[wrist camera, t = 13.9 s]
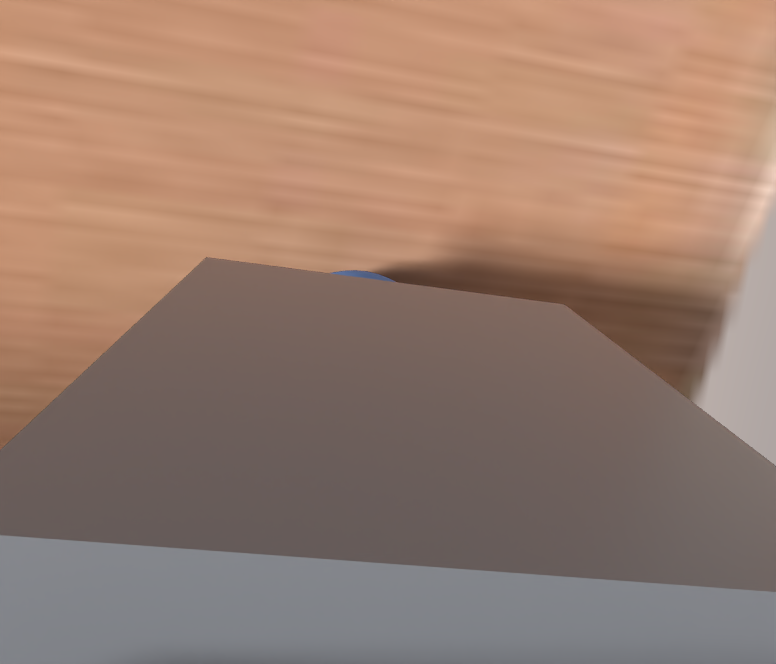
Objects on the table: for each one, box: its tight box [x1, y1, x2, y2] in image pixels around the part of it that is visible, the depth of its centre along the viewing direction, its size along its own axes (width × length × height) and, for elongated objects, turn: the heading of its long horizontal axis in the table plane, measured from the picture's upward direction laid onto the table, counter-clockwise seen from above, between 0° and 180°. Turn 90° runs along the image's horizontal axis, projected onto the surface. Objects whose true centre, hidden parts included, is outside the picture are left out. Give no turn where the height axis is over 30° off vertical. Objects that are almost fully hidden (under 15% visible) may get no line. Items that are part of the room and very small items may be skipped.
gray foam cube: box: [0, 257, 776, 664], centre depth 10 cm, size 8×8×9 cm
